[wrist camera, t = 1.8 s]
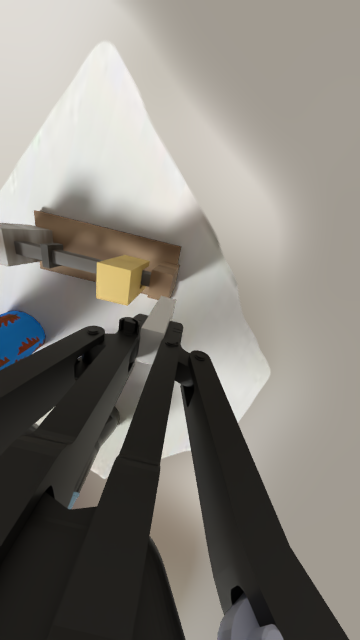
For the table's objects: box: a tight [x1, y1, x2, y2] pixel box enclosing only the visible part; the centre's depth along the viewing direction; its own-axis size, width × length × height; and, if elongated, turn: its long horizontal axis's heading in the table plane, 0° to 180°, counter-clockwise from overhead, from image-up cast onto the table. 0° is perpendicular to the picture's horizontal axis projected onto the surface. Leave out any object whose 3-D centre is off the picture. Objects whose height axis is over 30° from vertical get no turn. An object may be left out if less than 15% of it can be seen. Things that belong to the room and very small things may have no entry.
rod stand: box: [0, 210, 181, 300], centre depth 30 cm, size 10×28×10 cm, turn 77°
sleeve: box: [96, 255, 150, 306], centre depth 25 cm, size 4×4×9 cm
